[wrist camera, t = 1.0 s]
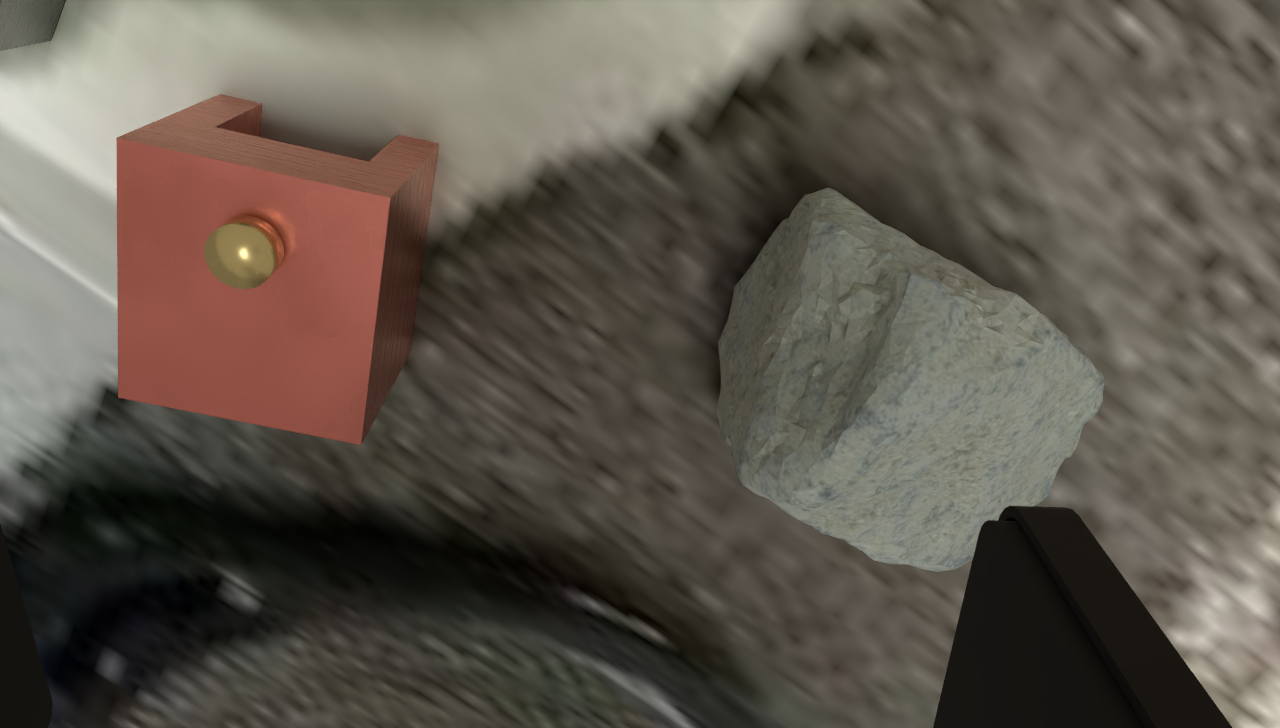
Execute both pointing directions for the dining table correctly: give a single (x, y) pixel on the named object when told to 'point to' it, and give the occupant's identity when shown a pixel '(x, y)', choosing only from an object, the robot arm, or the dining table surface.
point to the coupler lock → (266, 271)
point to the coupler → (27, 21)
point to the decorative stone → (892, 388)
